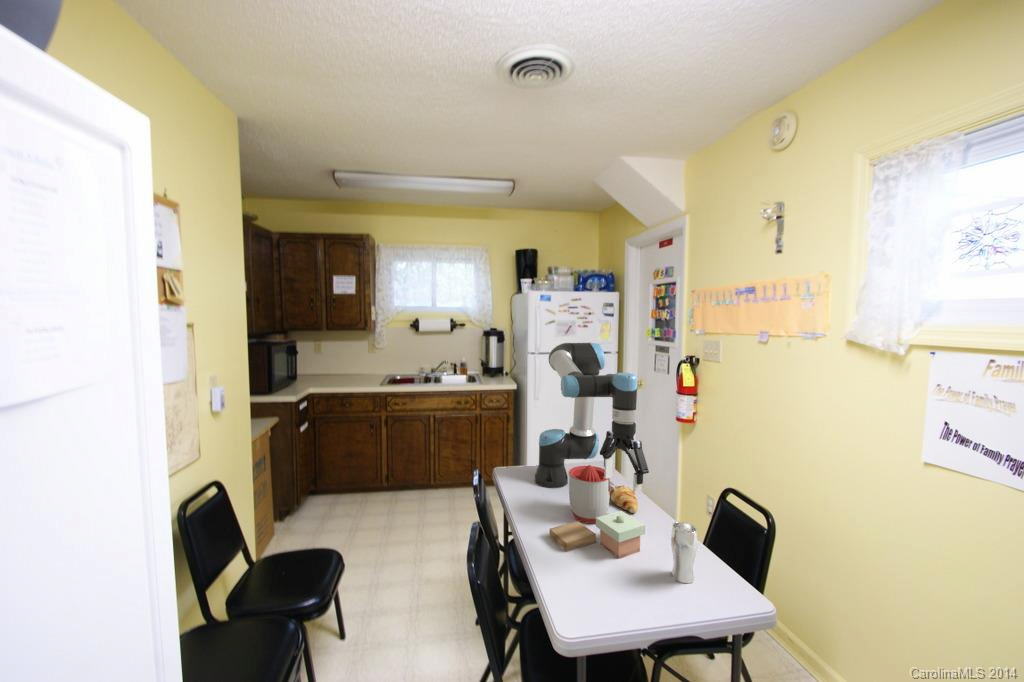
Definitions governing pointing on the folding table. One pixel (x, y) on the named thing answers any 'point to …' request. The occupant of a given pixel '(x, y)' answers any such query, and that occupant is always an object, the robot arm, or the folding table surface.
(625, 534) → the lid
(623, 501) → the croissant
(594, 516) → the citrus juicer
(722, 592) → the folding table surface
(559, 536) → the wooden block
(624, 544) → the open box
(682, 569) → the beer glass
